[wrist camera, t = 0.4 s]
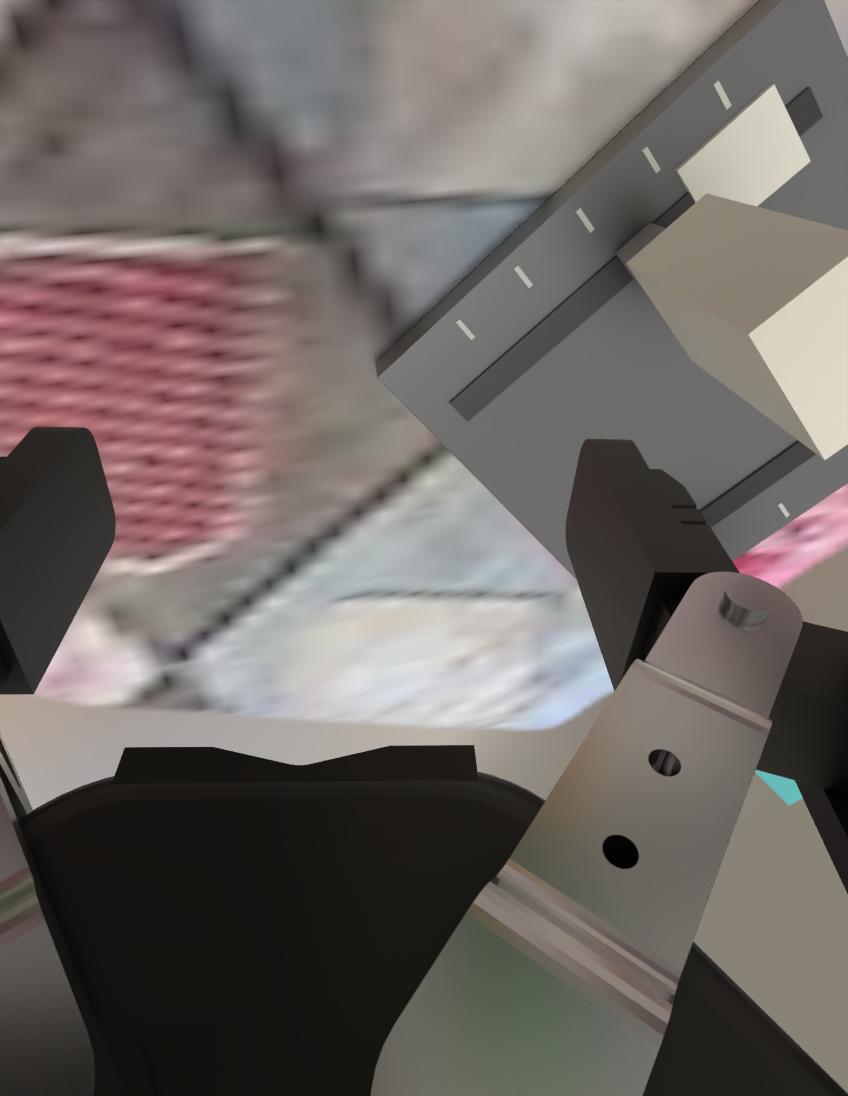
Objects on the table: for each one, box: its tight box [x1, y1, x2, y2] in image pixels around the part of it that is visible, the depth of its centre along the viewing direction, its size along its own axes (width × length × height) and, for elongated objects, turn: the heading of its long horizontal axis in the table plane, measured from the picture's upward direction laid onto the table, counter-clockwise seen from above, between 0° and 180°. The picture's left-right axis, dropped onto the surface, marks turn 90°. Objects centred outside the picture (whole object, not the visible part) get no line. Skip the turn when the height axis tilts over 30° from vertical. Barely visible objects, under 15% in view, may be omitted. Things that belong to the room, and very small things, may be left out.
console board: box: [376, 0, 848, 579], centre depth 31 cm, size 20×20×2 cm
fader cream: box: [616, 193, 848, 460], centre depth 22 cm, size 3×4×13 cm
